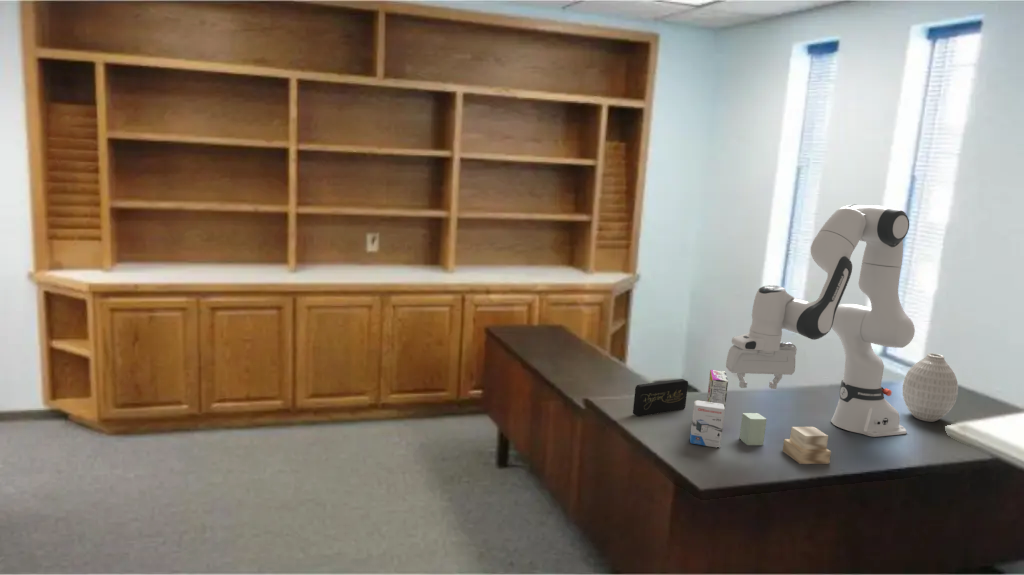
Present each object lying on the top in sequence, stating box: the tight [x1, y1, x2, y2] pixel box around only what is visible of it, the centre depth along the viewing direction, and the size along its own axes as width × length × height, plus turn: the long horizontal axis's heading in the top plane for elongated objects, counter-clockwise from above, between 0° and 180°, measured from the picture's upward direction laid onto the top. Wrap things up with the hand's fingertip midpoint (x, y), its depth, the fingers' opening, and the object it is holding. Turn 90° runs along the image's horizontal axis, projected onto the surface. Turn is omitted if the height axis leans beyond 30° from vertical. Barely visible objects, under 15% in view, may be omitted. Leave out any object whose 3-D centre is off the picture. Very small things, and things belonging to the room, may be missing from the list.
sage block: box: [739, 412, 768, 446], centre depth 217 cm, size 5×5×8 cm
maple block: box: [789, 426, 829, 450], centre depth 208 cm, size 7×7×4 cm
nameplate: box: [632, 378, 689, 417], centre depth 238 cm, size 21×2×10 cm, turn 121°
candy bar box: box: [706, 369, 729, 407], centre depth 228 cm, size 11×5×16 cm, turn 168°
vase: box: [902, 352, 959, 423], centre depth 250 cm, size 16×16×22 cm
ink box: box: [689, 399, 726, 449], centre depth 213 cm, size 9×5×12 cm, turn 77°
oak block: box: [782, 438, 832, 465], centre depth 209 cm, size 9×9×4 cm
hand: (757, 387), depth 215 cm, fingers open, 8 cm apart
